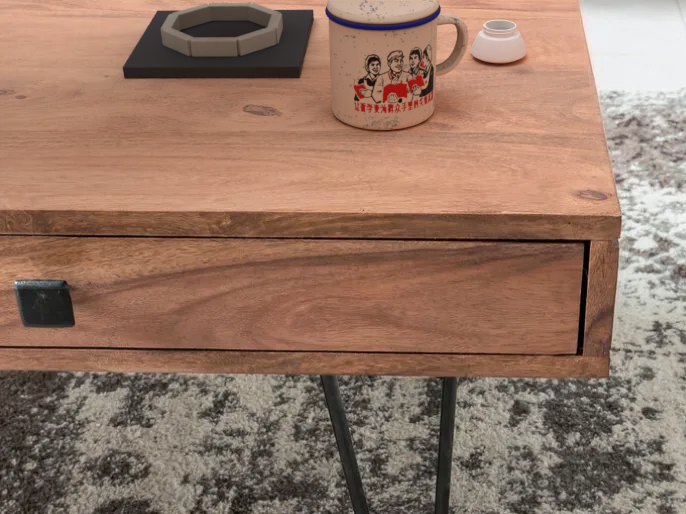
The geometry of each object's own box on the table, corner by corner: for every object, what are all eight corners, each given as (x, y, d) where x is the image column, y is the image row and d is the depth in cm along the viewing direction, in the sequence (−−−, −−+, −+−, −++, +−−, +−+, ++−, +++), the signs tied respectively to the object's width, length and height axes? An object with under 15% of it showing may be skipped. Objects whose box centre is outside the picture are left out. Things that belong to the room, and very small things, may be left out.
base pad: (123, 78, 95) (119, 50, 94) (158, 20, 108) (155, -5, 106) (299, 77, 94) (298, 50, 93) (313, 19, 107) (312, -6, 106)
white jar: (522, 47, 99) (469, 47, 99) (525, 15, 98) (471, 16, 98) (527, 66, 95) (472, 66, 95) (530, 34, 93) (474, 34, 94)
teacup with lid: (351, 140, 83) (347, -10, 76) (314, 99, 90) (307, -42, 83) (487, 116, 86) (496, -30, 79) (442, 78, 93) (446, -59, 86)
